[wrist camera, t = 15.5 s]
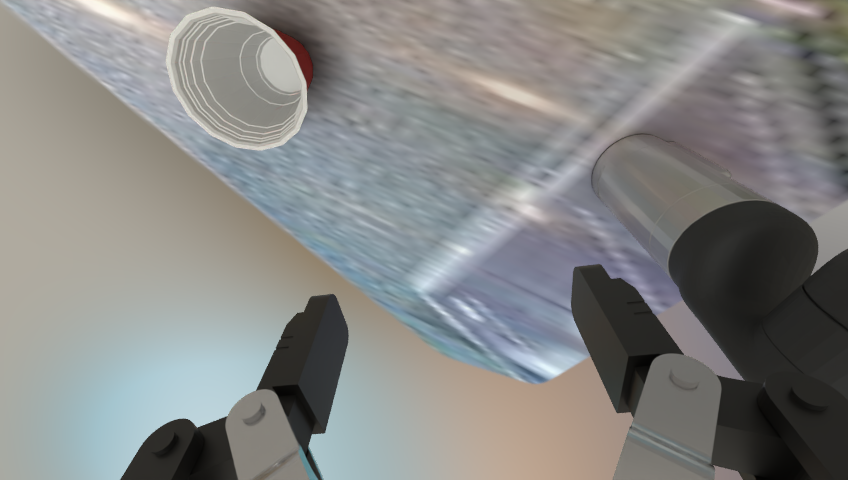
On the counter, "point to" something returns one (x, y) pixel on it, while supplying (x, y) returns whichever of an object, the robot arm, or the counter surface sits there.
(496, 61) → the counter surface
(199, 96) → the plastic cup
